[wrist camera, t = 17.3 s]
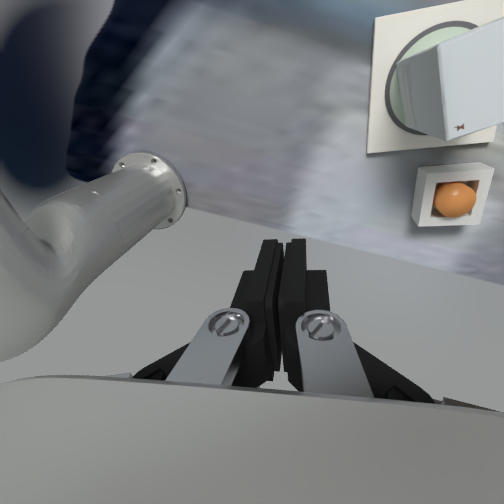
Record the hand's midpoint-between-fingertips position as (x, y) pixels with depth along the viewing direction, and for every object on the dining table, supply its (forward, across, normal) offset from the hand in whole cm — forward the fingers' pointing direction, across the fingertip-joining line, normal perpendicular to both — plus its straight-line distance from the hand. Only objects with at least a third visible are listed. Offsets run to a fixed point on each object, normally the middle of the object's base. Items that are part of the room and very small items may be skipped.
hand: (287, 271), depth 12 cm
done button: (+30, -18, +7) cm, 36 cm away
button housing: (+31, -18, +7) cm, 37 cm away
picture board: (+31, -15, -6) cm, 35 cm away
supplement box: (+30, -15, -6) cm, 34 cm away
